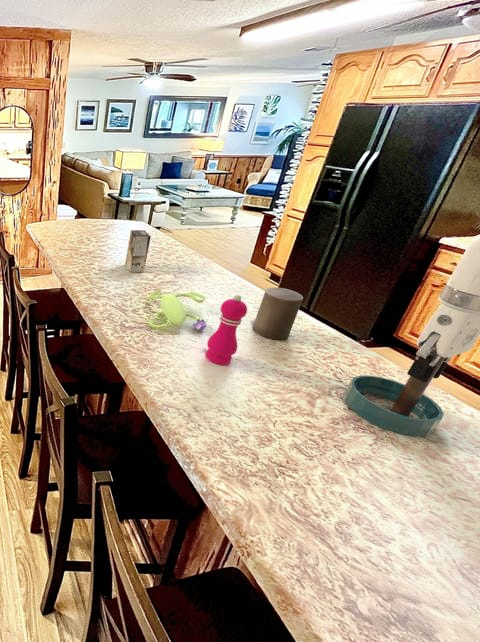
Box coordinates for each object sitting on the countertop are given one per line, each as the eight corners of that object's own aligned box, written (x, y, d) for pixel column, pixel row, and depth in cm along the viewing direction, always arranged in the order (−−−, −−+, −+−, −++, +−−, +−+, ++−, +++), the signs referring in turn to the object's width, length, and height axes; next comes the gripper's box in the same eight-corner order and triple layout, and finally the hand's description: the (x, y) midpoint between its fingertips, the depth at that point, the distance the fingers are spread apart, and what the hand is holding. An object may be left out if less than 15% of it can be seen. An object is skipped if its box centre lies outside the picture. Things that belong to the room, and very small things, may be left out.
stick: (390, 407, 90) (426, 345, 82) (417, 422, 86) (458, 358, 78) (376, 412, 88) (412, 350, 81) (403, 427, 84) (444, 363, 76)
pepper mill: (210, 348, 113) (229, 287, 105) (236, 360, 108) (258, 296, 100) (198, 357, 109) (217, 294, 100) (225, 369, 104) (247, 304, 95)
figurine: (201, 303, 140) (205, 289, 137) (209, 340, 117) (214, 324, 115) (147, 295, 146) (150, 281, 143) (145, 328, 123) (148, 313, 120)
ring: (366, 389, 98) (376, 370, 95) (444, 432, 85) (459, 411, 82) (325, 402, 93) (335, 382, 90) (402, 450, 80) (416, 428, 78)
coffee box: (144, 272, 166) (151, 236, 159) (129, 271, 166) (136, 236, 159) (138, 264, 174) (145, 230, 167) (124, 264, 174) (130, 229, 167)
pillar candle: (286, 344, 116) (304, 299, 110) (249, 333, 122) (265, 290, 115) (288, 331, 123) (306, 288, 117) (253, 321, 129) (268, 280, 122)
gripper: (472, 314, 68) (421, 396, 76) (520, 301, 73) (467, 379, 81) (419, 296, 74) (377, 373, 82) (466, 285, 79) (422, 359, 88)
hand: (422, 375), depth 82 cm, fingers closed on stick, 3 cm apart
